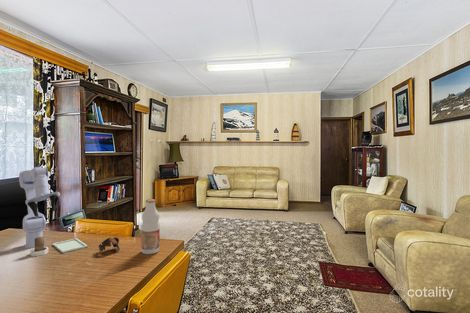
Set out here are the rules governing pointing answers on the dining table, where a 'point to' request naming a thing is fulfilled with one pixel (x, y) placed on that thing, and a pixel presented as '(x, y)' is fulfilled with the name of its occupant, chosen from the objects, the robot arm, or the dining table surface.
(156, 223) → the fruit juice
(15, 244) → the dining table surface
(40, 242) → the dowel pin
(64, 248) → the sage tray
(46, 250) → the white octagonal dish
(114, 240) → the brown arched lump
